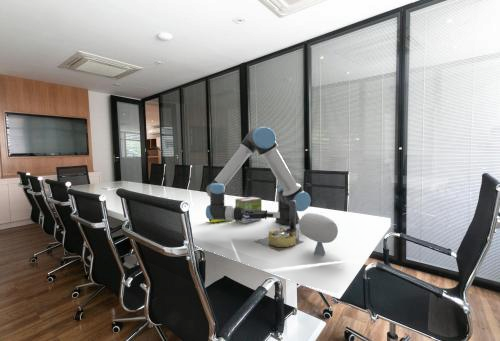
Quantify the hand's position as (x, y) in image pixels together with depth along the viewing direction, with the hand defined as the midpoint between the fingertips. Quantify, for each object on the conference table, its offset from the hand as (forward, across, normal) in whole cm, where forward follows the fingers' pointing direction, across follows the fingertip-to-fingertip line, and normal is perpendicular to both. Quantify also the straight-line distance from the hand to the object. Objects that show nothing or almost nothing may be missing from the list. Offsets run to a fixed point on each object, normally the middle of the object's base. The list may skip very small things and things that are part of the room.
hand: (279, 215), depth 129 cm
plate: (0, +6, -13) cm, 14 cm away
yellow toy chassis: (-41, -30, -13) cm, 53 cm away
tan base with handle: (+3, +6, -11) cm, 13 cm away
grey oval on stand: (+18, +14, -13) cm, 26 cm away
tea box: (-24, -35, -13) cm, 44 cm away
